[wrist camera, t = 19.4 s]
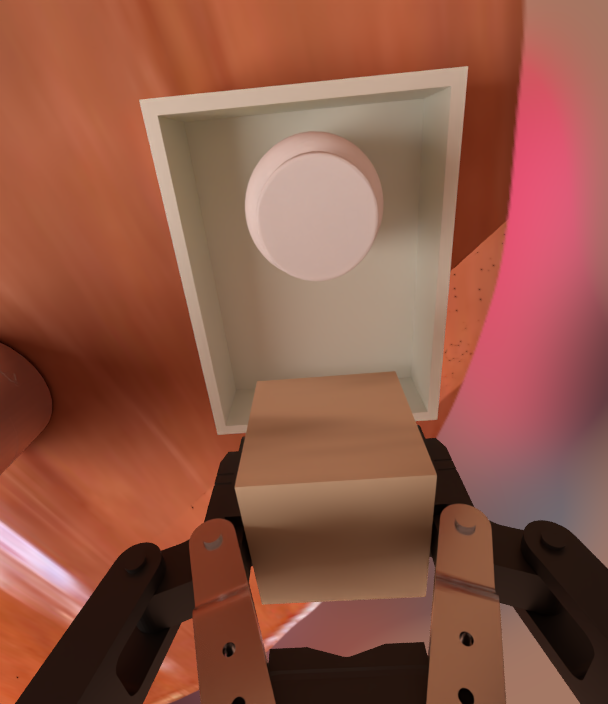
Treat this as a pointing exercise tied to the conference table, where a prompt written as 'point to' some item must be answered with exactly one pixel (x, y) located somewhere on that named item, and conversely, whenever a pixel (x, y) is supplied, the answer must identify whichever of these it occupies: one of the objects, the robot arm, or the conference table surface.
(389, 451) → the birch cube
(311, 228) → the supplement bottle
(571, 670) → the robot arm
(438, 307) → the box
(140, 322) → the conference table surface
